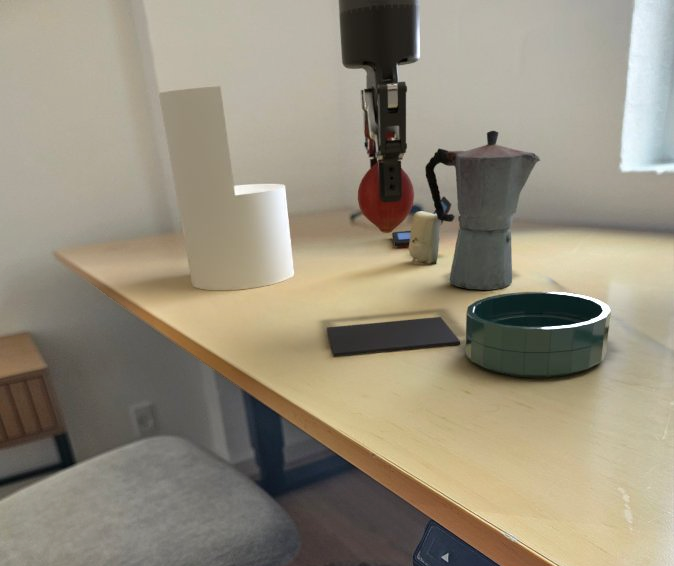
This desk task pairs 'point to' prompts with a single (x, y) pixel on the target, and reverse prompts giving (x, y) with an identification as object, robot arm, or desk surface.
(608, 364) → the desk surface
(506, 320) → the bowl
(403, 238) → the handheld console
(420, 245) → the cream rounded pillar
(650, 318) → the desk surface
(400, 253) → the desk surface
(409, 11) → the robot arm
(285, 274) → the white cylindrical chair
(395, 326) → the mat
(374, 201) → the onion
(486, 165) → the moka pot
